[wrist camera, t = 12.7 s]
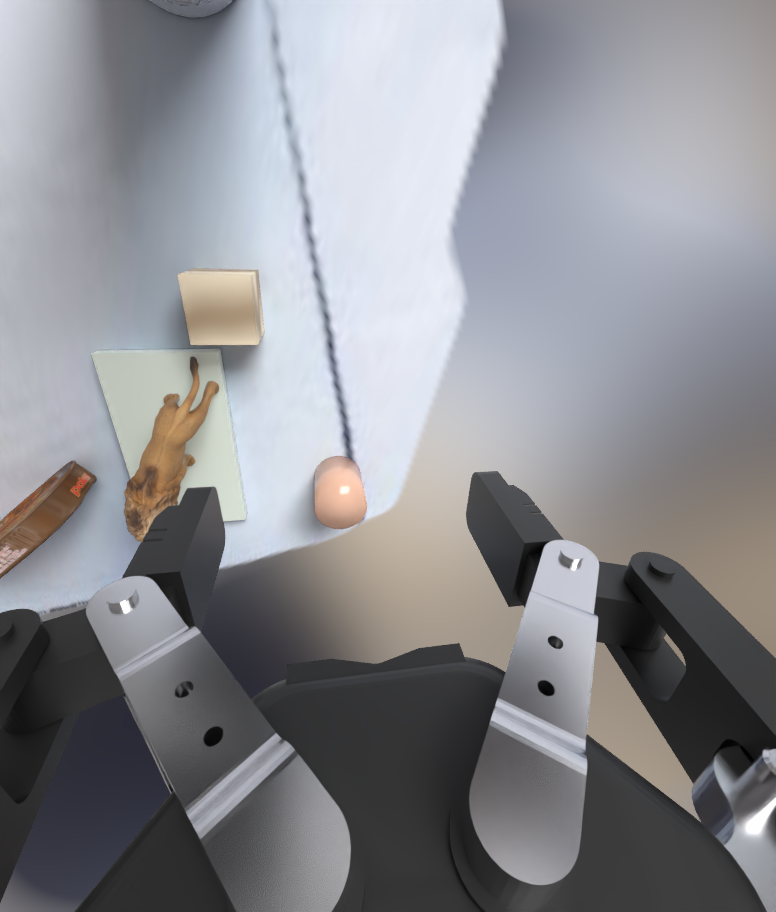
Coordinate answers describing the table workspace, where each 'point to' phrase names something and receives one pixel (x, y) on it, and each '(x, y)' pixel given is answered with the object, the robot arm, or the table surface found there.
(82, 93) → the table surface
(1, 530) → the tin
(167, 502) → the lion figurine
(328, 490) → the peach rounded cylinder
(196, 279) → the birch block
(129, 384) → the sage board
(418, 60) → the table surface
